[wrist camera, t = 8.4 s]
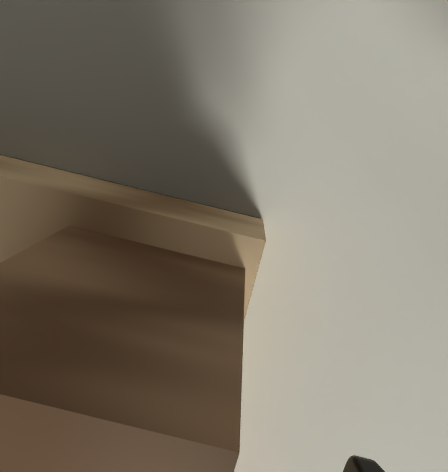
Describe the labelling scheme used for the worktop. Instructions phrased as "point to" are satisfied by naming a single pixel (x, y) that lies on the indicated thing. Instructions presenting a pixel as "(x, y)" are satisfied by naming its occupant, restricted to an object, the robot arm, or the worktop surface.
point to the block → (119, 358)
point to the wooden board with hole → (121, 217)
